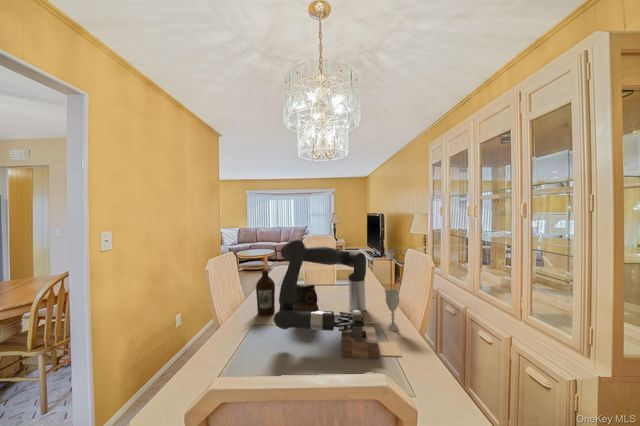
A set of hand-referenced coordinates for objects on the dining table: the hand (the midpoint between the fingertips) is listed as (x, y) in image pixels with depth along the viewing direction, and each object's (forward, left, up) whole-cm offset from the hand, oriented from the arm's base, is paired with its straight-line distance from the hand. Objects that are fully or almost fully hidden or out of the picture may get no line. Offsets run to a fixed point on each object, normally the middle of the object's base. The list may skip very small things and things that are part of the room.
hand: (363, 321), depth 106 cm
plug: (0, -3, -11) cm, 11 cm away
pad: (0, +10, -11) cm, 15 cm away
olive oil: (-36, -53, -12) cm, 65 cm away
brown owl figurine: (-27, -27, -12) cm, 40 cm away
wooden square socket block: (0, -2, -11) cm, 11 cm away
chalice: (-19, +15, -12) cm, 27 cm away
